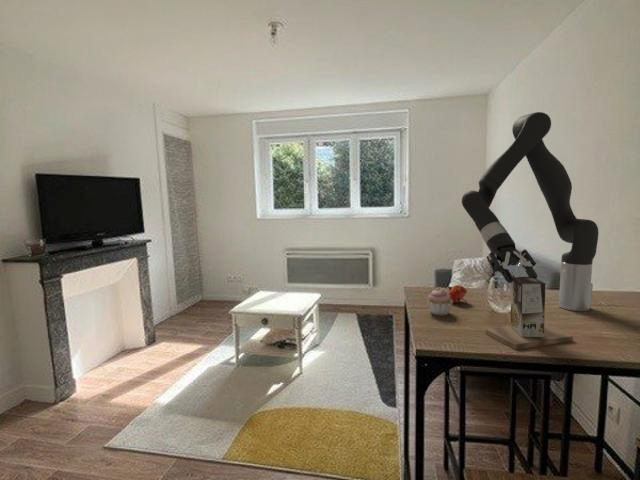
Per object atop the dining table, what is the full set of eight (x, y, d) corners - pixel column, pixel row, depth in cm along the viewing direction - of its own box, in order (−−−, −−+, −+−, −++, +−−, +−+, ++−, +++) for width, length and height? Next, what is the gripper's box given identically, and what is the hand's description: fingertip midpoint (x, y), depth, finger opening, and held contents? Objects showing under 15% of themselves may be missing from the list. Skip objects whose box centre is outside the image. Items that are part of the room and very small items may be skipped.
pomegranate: (464, 305, 143) (445, 289, 147) (476, 293, 139) (455, 277, 143) (459, 312, 138) (439, 295, 141) (472, 300, 134) (450, 283, 137)
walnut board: (538, 326, 114) (538, 321, 114) (572, 340, 102) (573, 336, 102) (485, 333, 109) (485, 328, 109) (515, 349, 98) (515, 344, 97)
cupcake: (422, 309, 133) (422, 284, 132) (446, 308, 134) (446, 283, 132) (431, 318, 124) (432, 290, 123) (457, 316, 124) (458, 289, 123)
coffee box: (545, 337, 101) (546, 283, 99) (521, 337, 102) (522, 283, 100) (531, 326, 110) (532, 275, 108) (509, 325, 111) (510, 276, 109)
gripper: (484, 232, 111) (510, 275, 102) (521, 230, 115) (550, 271, 105) (473, 247, 117) (496, 288, 107) (508, 244, 120) (534, 284, 111)
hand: (523, 280), depth 106 cm, fingers open, 8 cm apart
